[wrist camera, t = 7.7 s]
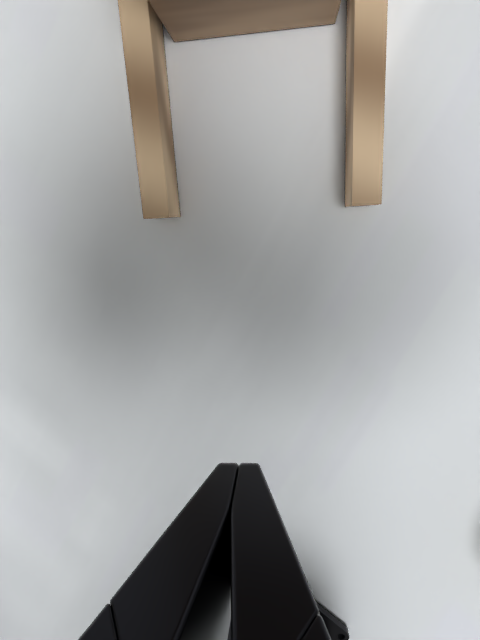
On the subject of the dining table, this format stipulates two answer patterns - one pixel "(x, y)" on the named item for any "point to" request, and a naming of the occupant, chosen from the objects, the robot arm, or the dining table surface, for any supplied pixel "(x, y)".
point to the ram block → (240, 16)
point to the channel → (155, 116)
